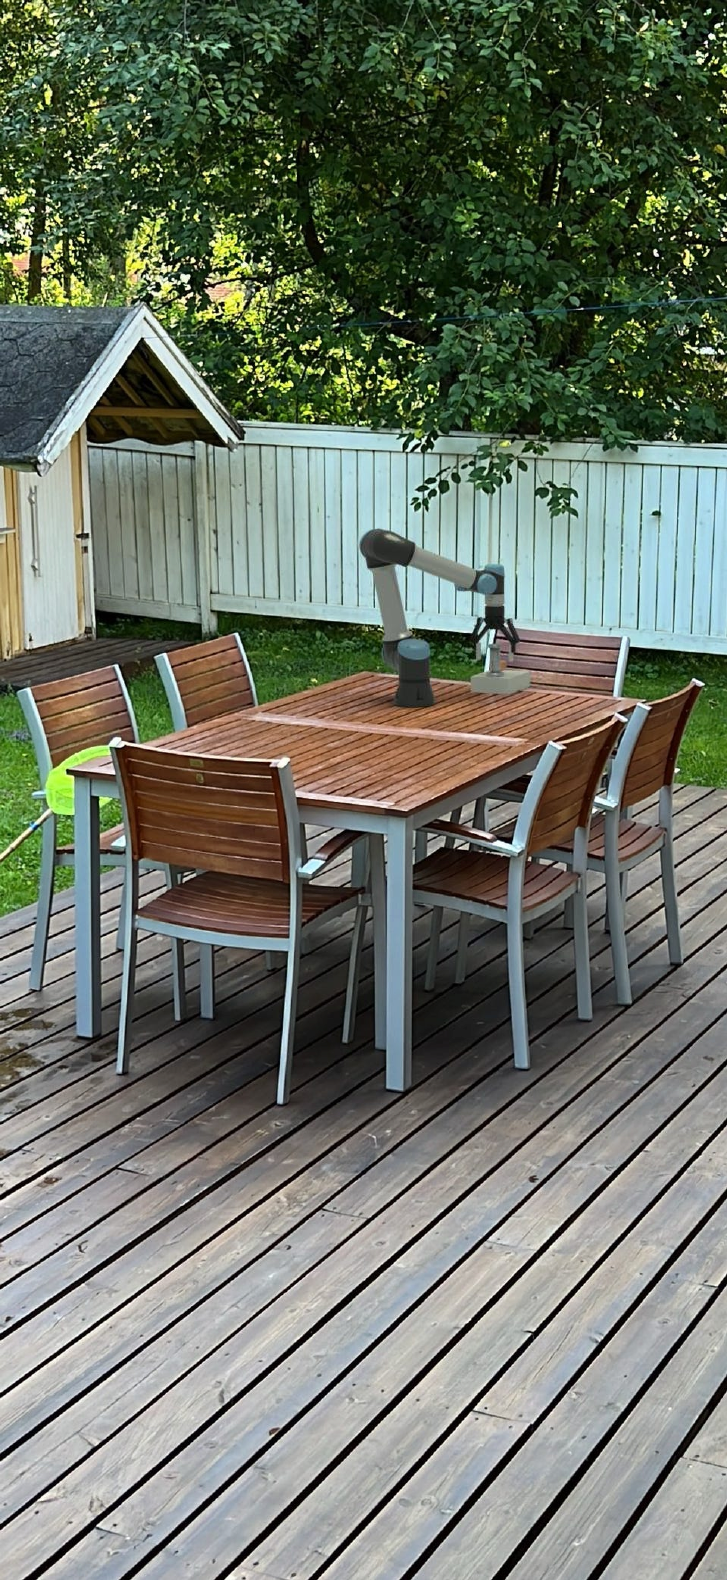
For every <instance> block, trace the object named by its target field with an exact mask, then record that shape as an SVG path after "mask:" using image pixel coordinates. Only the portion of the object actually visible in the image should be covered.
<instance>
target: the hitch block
mask: <svg viewBox="0 0 727 1580" xmlns="http://www.w3.org/2000/svg"><path fill="white" fill-rule="evenodd" d="M486 672H490V669H489V670H487V671H484V672H480V673H477V674H474V675H472V676H470V692H471V693H482V694H498V695H511V694H514V693H516V691H517V692H519V691H518V690H520V691H522V690H524V689H528V688H530V687H531V671H529V670H511V669H510V670H509V669H503V670H500V672H504V676H502V677H487V676H486Z"/></svg>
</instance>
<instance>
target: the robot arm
mask: <svg viewBox="0 0 727 1580" xmlns="http://www.w3.org/2000/svg"><path fill="white" fill-rule="evenodd" d="M358 543H359V545H358V546H359V551H360V553H361V556H362V557H363V558H364V559H365V563H366V568H367V570H369V571H370V572H371V573H372V577H373V582H374V587H375V591H376V597H377V601H378V606H379V611H380V616H381V621H382V624H383V630H384V635H383V636H382V639H381V640H382V648H381V657H382V661H383V662H384V664H385V665H386V666H387V667H388V668H389V669H391V670H393V671H396V672H397V673H398V684H397V685H398V686H397V688H396V692H395V695H394V699H393V702H394V704H393V705H395V706H397V707H406V708H422V707H430V706H434V705H436V697H435V694H434V691H433V688H432V685H431V663H430V662H431V651H430V644H429V643H428V642H427V641H425V640H423V639H417V638H414V635H413V632H412V631H411V630H409V629H408V625H407V621H406V616H405V611H404V606H403V600H402V596H401V592H400V586H399V581H398V576H397V571H396V566H397V565H398V566H401V567H403V568H407V567H411V568H414V569H416V570H420V571H422V572H424V573H426V574H429V575H432V576H434V577H437V578H440V579H442V580H445V581H447V582H450V583H452V584H454V588H455V590H456V591H457V592H471V593H475V594H476V593H477V594H481V595H482V596H484V604H485V606H484V617H483V616H478V617H477V618H476V624H475V625H474V628H473V631H472V633H471V635H470V636H469V641H470V642H472V643H473V645H474V646H473V649H474V650H473V651H474V652H475V653H476V655H475V658H476V661H481V660H482V642H480V641H481V640H482V638H483V637H484V636H485V634H486V633H488V631H489V630H492V631H493V630H496V631H500V632H501V633H502V634H503V635H504V637H505V638H506V639H507V641H508V642H509V643H510V644H509V645H508V662H509V663H510V662H511V663H512V662H514V659H515V658H514V653H516V651H517V649H516V648H517V647H516V645H517V644H518V643H521V639H520V637H519V634H518V632H517V630H516V627H515V626H514V623H513V618H512V617H511V618H510V617H509V618H506V617H505V615H506V614H505V602H506V601H505V577H506V576H505V567H504V565H503V564H499V563H490V564H485V565H484V568H483V569H482V570H477V569H474V568H472V567H469V566H467V565H465V564H462V563H460V562H457V561H455V560H452V559H449V558H447V557H445V556H442V555H440V554H436V553H435V552H432V551H429V550H427V549H424V548H422V547H419V546H417V544H416V542H414V541H412V540H410V539H407V538H406V537H403V536H401V535H400V534H398V533H396V532H395V531H392V530H388V529H383V528H380V527H379V528H378V527H377V528H372V529H369V530H367V531H365V532H364V533H363V535H362V536H361V537H360V540H359V542H358ZM483 623H485V625H484V626H483V628H482V630H481V631H480V629H481V627H482V624H483ZM505 624H506V625H507V627H508V629H509V631H508V629H507V627H506V626H505ZM478 633H479V634H478Z"/></svg>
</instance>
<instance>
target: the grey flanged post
mask: <svg viewBox="0 0 727 1580" xmlns="http://www.w3.org/2000/svg"><path fill="white" fill-rule="evenodd" d="M502 647H503V645H502V643H489V644H487V648H489V670H490V672H486V671H485V672H486V676H487V677H502V676H504V672H500V661H501V648H502Z"/></svg>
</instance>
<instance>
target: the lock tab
mask: <svg viewBox="0 0 727 1580" xmlns="http://www.w3.org/2000/svg"><path fill="white" fill-rule="evenodd" d="M507 668H508V667H507V660H504V659H503V660H502V659H500V670H507Z"/></svg>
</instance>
